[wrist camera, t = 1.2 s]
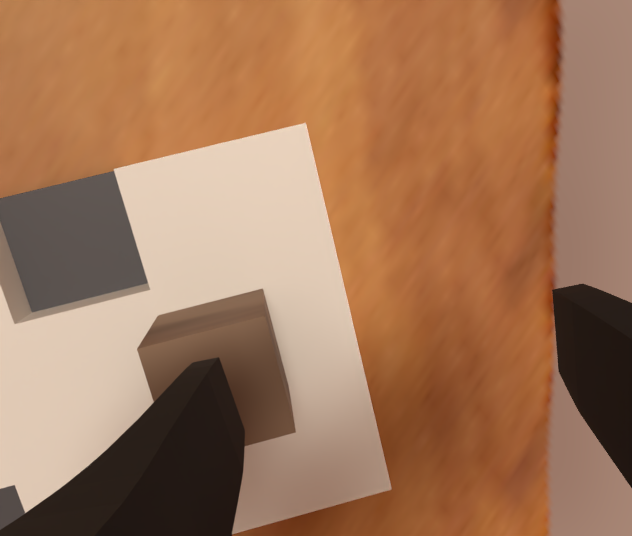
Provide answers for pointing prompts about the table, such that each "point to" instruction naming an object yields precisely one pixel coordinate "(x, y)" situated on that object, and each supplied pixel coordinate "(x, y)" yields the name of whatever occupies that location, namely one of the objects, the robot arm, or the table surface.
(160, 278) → the trap deck
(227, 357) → the walnut block
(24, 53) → the table surface
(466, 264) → the table surface
